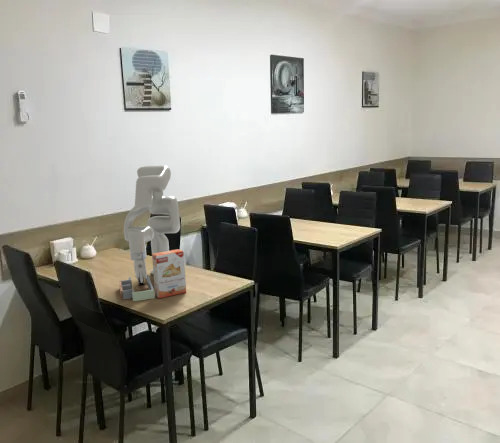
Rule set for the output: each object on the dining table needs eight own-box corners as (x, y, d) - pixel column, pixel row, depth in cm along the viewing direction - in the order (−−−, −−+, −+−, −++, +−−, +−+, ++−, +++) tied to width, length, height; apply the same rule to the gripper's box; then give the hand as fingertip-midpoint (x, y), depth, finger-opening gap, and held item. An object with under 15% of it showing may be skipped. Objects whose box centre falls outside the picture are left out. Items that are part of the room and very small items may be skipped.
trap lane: (148, 282, 253) (148, 274, 252) (154, 298, 228) (154, 289, 227) (119, 286, 249) (118, 278, 248) (122, 302, 224) (121, 294, 223)
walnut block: (148, 294, 233) (147, 284, 232) (149, 297, 229) (148, 287, 228) (137, 296, 232) (136, 286, 231) (138, 299, 227) (137, 289, 226)
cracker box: (159, 299, 226) (155, 255, 222) (155, 295, 231) (151, 253, 227) (187, 292, 233) (183, 250, 229) (182, 289, 238) (178, 248, 234)
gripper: (148, 258, 225) (151, 295, 229) (145, 251, 239) (148, 286, 243) (131, 260, 223) (135, 298, 227) (129, 252, 237) (133, 288, 241)
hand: (142, 291), depth 235 cm, fingers closed
